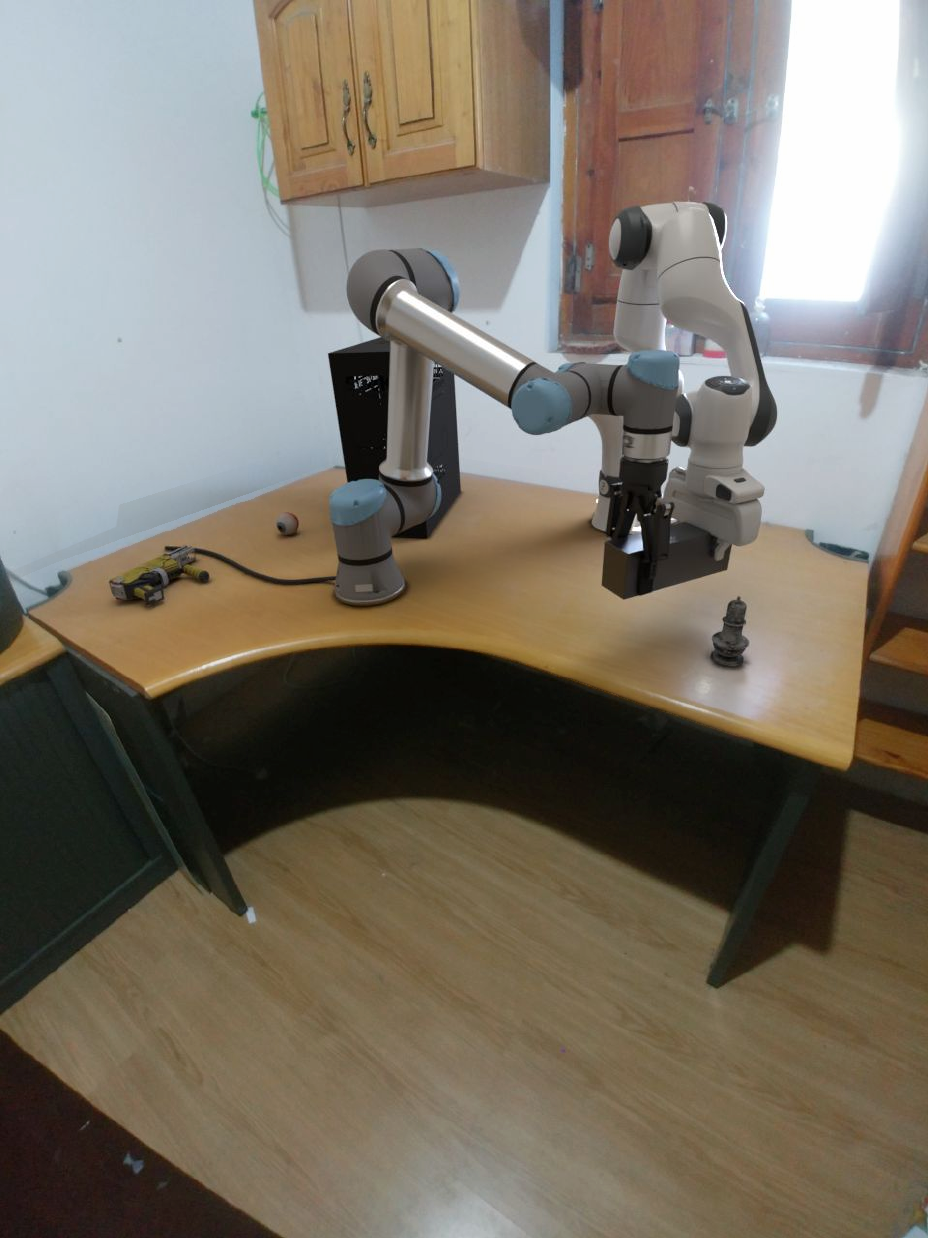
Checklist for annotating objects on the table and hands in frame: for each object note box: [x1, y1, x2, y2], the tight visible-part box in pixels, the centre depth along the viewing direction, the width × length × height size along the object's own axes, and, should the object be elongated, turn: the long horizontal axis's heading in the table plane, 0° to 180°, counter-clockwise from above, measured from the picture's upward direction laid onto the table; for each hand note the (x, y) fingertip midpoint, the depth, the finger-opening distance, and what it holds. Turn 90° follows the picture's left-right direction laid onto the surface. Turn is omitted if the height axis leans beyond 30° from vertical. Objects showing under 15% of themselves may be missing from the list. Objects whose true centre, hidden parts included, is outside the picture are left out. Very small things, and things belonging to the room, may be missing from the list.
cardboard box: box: [327, 336, 462, 539], centre depth 164 cm, size 38×20×45 cm, turn 167°
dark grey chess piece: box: [710, 595, 750, 667], centre depth 101 cm, size 6×6×12 cm
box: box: [601, 522, 733, 601], centre depth 109 cm, size 24×6×9 cm, turn 115°
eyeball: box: [275, 511, 300, 536], centre depth 163 cm, size 6×6×6 cm
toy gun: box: [108, 544, 210, 607], centre depth 141 cm, size 5×24×15 cm
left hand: (631, 584), depth 108 cm, fingers closed on box, 6 cm apart
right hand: (700, 551), depth 112 cm, fingers closed on box, 6 cm apart
